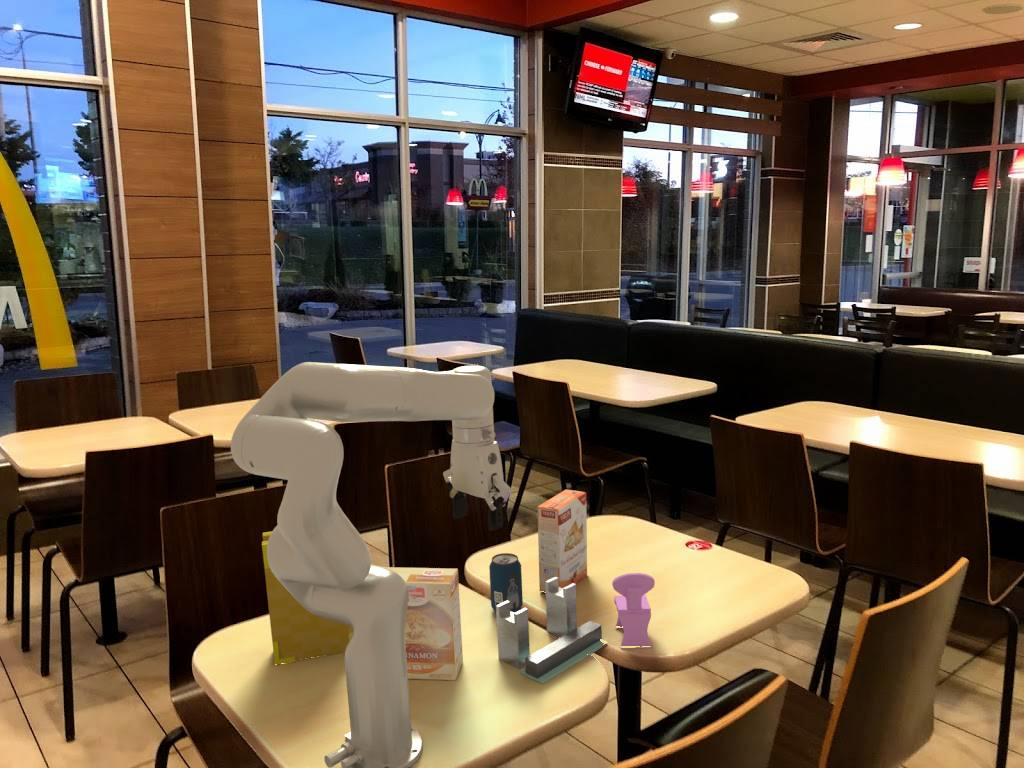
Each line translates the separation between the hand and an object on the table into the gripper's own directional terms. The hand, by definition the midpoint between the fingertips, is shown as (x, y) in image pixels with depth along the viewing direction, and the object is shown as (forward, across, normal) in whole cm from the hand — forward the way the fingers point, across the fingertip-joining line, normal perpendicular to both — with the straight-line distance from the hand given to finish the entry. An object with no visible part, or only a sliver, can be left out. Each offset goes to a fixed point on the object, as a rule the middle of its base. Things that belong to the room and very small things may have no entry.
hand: (477, 522), depth 150 cm
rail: (+28, -11, -11) cm, 32 cm away
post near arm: (+28, -4, -4) cm, 29 cm away
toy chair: (+28, -16, -26) cm, 42 cm away
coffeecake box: (+28, +7, +10) cm, 31 cm away
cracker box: (+28, +11, -36) cm, 47 cm away
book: (+28, +29, +19) cm, 45 cm away
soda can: (+28, +12, -18) cm, 36 cm away
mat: (+28, -11, -11) cm, 32 cm away
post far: (+28, -4, -18) cm, 34 cm away
